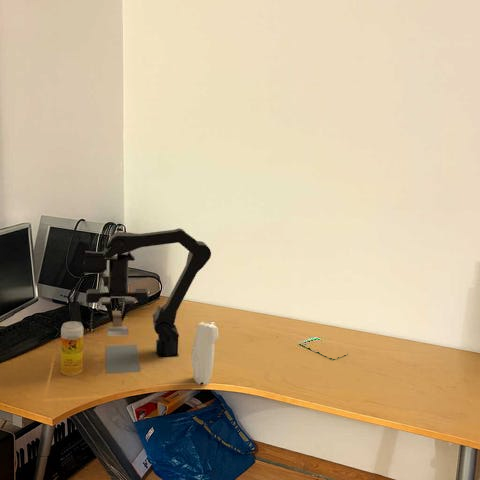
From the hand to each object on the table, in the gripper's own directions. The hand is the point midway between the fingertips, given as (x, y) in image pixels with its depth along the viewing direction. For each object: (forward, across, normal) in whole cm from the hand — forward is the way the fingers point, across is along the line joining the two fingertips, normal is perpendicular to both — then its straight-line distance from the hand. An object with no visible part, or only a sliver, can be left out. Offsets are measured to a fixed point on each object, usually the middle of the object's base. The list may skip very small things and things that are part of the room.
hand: (116, 321), depth 156 cm
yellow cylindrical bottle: (+12, +13, +10) cm, 20 cm away
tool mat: (+12, -2, +3) cm, 12 cm away
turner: (+1, 0, +1) cm, 2 cm away
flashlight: (+12, -24, +21) cm, 34 cm away
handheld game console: (+12, -71, +2) cm, 72 cm away
